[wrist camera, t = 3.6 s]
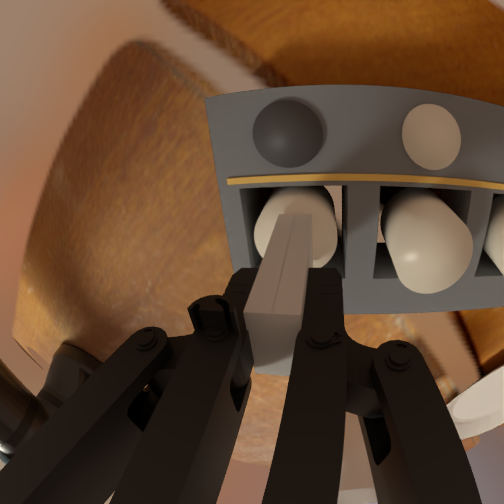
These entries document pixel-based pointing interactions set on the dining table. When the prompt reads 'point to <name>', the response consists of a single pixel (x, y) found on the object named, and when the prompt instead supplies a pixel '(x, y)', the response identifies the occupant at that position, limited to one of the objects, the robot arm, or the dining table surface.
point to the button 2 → (425, 240)
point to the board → (363, 176)
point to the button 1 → (301, 202)
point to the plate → (479, 405)
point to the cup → (355, 467)
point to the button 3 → (496, 233)
